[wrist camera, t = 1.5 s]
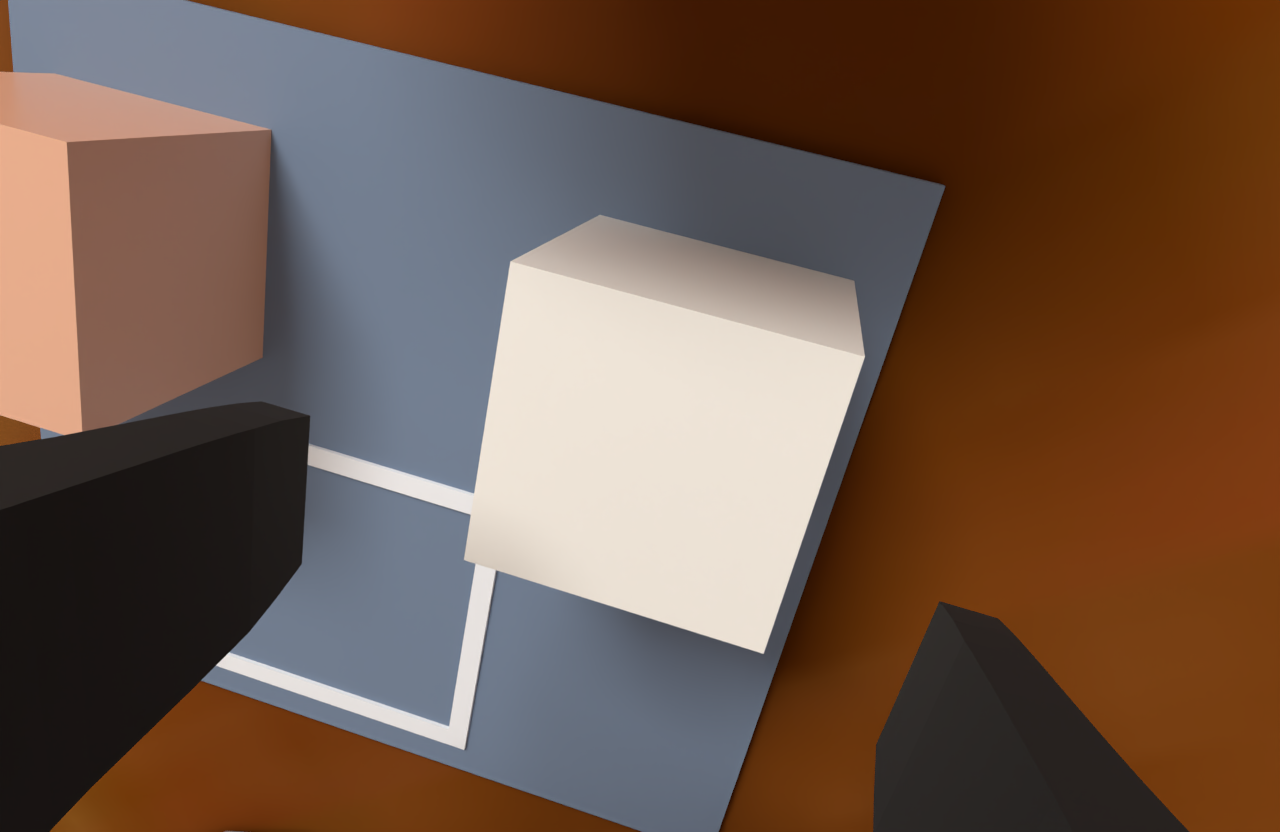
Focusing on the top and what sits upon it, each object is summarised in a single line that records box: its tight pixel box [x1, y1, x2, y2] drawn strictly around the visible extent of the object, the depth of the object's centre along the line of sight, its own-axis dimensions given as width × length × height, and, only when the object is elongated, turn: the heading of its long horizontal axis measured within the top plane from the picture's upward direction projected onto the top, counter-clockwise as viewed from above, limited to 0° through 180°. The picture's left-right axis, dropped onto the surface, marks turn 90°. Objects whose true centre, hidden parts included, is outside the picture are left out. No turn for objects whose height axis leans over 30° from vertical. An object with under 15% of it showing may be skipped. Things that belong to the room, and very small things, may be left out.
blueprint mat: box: [8, 0, 945, 832], centre depth 19 cm, size 17×19×1 cm
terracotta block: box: [0, 72, 271, 435], centre depth 16 cm, size 5×5×5 cm
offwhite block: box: [464, 215, 865, 654], centre depth 15 cm, size 5×5×5 cm
